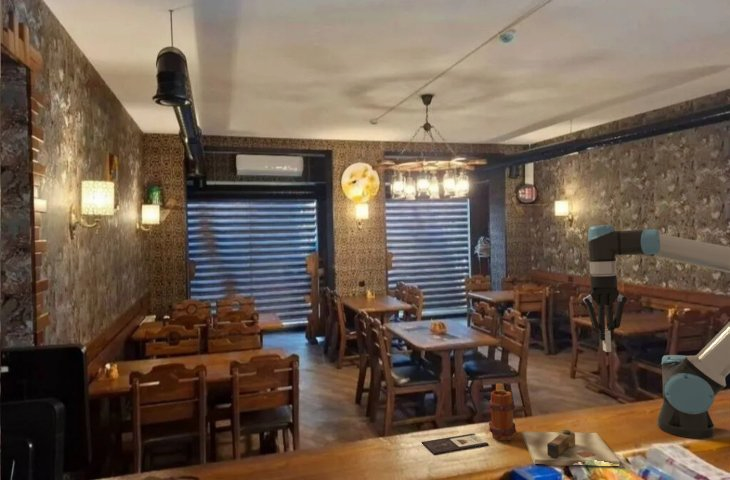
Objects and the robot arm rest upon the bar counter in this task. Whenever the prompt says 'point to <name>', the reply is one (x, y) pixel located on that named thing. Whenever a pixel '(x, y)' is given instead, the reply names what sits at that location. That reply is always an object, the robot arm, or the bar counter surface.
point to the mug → (502, 414)
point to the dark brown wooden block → (561, 443)
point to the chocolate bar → (454, 444)
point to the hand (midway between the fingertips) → (607, 350)
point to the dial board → (568, 449)
